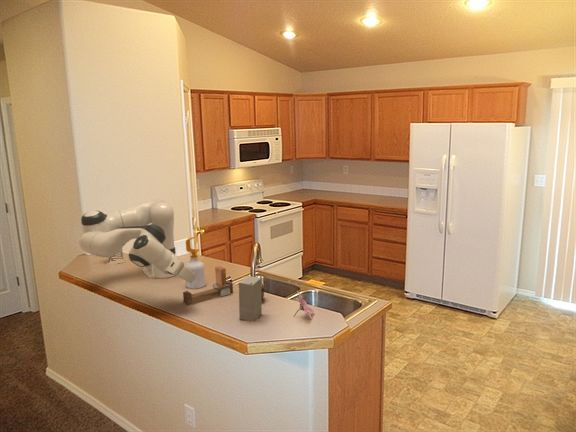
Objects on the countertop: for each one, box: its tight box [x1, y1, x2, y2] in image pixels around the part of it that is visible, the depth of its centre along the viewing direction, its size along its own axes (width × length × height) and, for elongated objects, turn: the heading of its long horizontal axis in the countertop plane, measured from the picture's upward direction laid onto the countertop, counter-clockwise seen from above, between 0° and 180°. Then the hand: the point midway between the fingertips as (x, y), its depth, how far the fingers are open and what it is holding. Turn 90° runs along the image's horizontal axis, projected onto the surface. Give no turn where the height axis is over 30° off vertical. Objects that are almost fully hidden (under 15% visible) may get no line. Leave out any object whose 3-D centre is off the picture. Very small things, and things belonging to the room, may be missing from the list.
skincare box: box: [238, 275, 263, 322], centre depth 183 cm, size 8×7×16 cm
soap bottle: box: [185, 235, 206, 289], centre depth 221 cm, size 9×9×25 cm
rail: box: [182, 280, 234, 306], centre depth 206 cm, size 4×23×5 cm, turn 129°
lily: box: [293, 290, 315, 320], centre depth 182 cm, size 12×12×10 cm
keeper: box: [212, 266, 231, 298], centre depth 210 cm, size 7×5×12 cm
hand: (191, 280), depth 200 cm, fingers closed
